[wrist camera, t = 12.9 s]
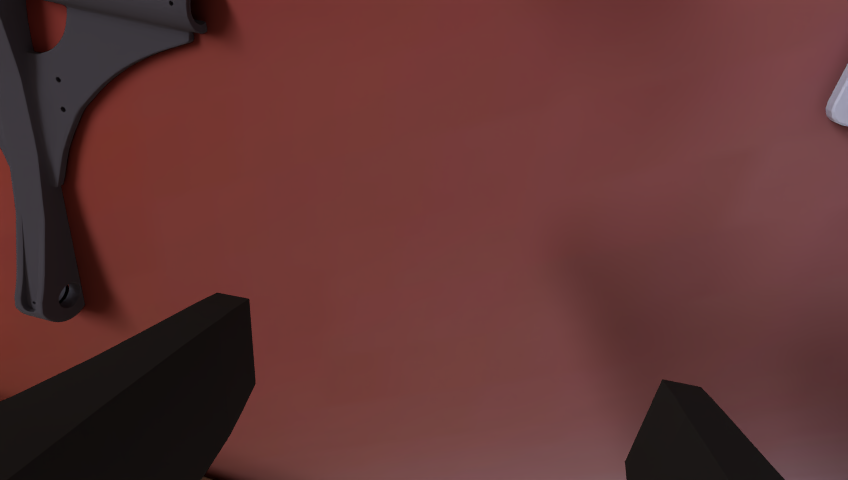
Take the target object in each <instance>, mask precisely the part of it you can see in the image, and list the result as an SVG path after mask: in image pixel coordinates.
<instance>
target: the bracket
mask: <svg viewBox="0 0 848 480" xmlns="http://www.w3.org/2000/svg"><path fill="white" fill-rule="evenodd" d="M45 1H50V2H55V3H59V4H63V5H65V6H66V7H67V20H66V27H65V31H64V34H63V37H62V39H61V40H60V42H59V43H58V44H57V45H56V46H55V47H54V48H53V49H51V50H49V51H47V52H44V53H39V52H35V51H34V50H33V45H32V40H31V35H30V30H29V24H28V18H27V9H26V0H0V147H1V149H2V152H3V154H4V156H5V158H6V160H7V162H8V164H9V166H10V171H11V179H12V186H13V194H14V201H15V208H16V253H17V279H16V290H15V306H16V308H17V309H18V310H19V311H21V312H22V313H24V314H27V315H30V316H34V317H38V318H41V319H45V320H49V321H53V322H63V321H67V320H69V319H71V318H73V317H74V316H76V315H77V314H78V313H79V312H80V311H81V310H82V308H83V307H84V305H85V303H84V297H83V293H82V288H81V283H80V278H79V273H78V268H77V263H76V258H75V253H74V248H73V243H72V238H71V233H70V228H69V223H68V218H67V213H66V208H65V203H64V199H63V194H62V189H61V185H63V184H64V179H65V172H66V166H67V159H68V153H69V149H70V145H71V142H72V139H73V135H74V133H75V130H76V128H77V125H78V123H79V121H80V118H81V116H82V114H83V112H84V110H85V108H86V107H87V105H88V104H89V103H90V102H91V101H92V100H93V99H94V98H95V97H96V95H97V94H98V93H99V92H100V91H101V90H102V89H103V88H104V87H105V86H106V85H107V84H108V83H109V82H110V81H111V80H112V79H114V78H115V77H116V76H117V75H119V74H120V73H121V72H123V71H124V70H126V69H127V68H129V67H130V66H132V65H134V64H135V63H137V62H139V61H141V60H143V59H145V58H147V57H149V56H152V55H154V54H157V53H159V52H162V51H165V50H168V49H171V48H174V47H177V46H181V45H184V44H187V43H190V42H193V40H194V34H193V32H195V33H200V34H203V33H206V32H207V25H206V22H205V21H200V20H196V19H193V17H192V14H191V0H45ZM68 284H69V292H68V295H67V297H66V299H65V300H63V299H61V298H62V297H63V295H64V293H65V290H66V285H68Z"/></svg>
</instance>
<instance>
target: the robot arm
mask: <svg viewBox="0 0 848 480" xmlns="http://www.w3.org/2000/svg"><path fill="white" fill-rule="evenodd" d="M826 115H827V117H828V118H829V119H830V120H831V121H833V122H835V123H838V124H840V125H843V126H848V64H847V66H846V68H845V70H844V72H843V74H842V76H841V78H840V79H839V81H838V83H837V85H836V87H835V89H834V91H833V93H832V95H831V97H830V99H829V101H828V103H827V106H826ZM254 386H255V369H254V356H253V343H252V330H251V317H250V304H249V299H247V298H242V297H237V296H232V295H226V294H221V293H216V294H214V295H211V296H209V297H207V298H205V299H203V300H201V301H199V302H197V303H195V304H193V305H191V306H190V307H188V308H186V309H184V310H182V311H180V312H178V313H176V314H174V315H173V316H171V317H169V318H167V319H165V320H163V321H161V322H159V323H158V324H156V325H154V326H152V327H150V328H148V329H146V330H144V331H143V332H141V333H139V334H137V335H135V336H133V337H131V338H129V339H127V340H125V341H124V342H122V343H120V344H118V345H116V346H114V347H112V348H110V349H108V350H106V351H104V352H103V353H101V354H99V355H97V356H95V357H93V358H91V359H89V360H87V361H85V362H83V363H81V364H78V365H76V366H74V367H72V368H70V369H68V370H66V371H64V372H62V373H60V374H58V375H56V376H54V377H52V378H50V379H47V380H45V381H43V382H41V383H39V384H37V385H35V386H33V387H31V388H29V389H27V390H25V391H23V392H21V393H19V394H16V395H14V396H12V397H10V398H7V399H5V400H3V401H1V402H0V480H201V479H202V478H203V476H204V475H205V473H206V472H207V470H208V469H209V467H210V465H211V464H212V462H213V461H214V459H215V458H216V456H217V455H218V453H219V452H220V450H221V448H222V447H223V445H224V444H225V442H226V441H227V439H228V437H229V436H230V434H231V432H232V430H233V428H234V426H235V424H236V422H237V421H238V419H239V417H240V415H241V413H242V411H243V409H244V407H245V404H246V402H247V400H248V398H249V396H250V394H251V392H252V390H253V388H254ZM625 466H626V478H627V480H784V478H783V477H782V476H781V475H780V474H779V473H778V472H777V471H776V470H775V468H774V467H773V466H772V465H771V464H770V463H769V462H768V461H767V460H766V458H765V457H764V456H763V455H762V454H761V453H760V452H759V451H758V449H757V448H756V447H755V446H754V445H753V444H752V443H751V442H750V440H749V439H748V438H747V437H746V436H745V435H744V434H743V433H742V431H741V430H740V429H739V428H738V427H737V426H736V425H735V424H734V422H733V421H732V420H731V419H730V418H729V417H728V416H727V415H726V414H725V412H724V411H723V410H722V409H721V408H720V407H719V406H718V405H717V404H716V403H715V401H714V400H713V399H712V398H711V397H710V396H709V395H708V394H707V393H706V392H705V391H704V390H703V389H702V388H701V387H698V386H693V385H688V384H683V383H678V382H673V381H667V380H662V381H661V384H660V386H659V388H658V390H657V392H656V395H655V397H654V399H653V401H652V403H651V406H650V408H649V410H648V412H647V414H646V417H645V419H644V421H643V423H642V425H641V428H640V430H639V432H638V434H637V437H636V439H635V441H634V443H633V445H632V448H631V450H630V452H629V454H628V456H627V459H626V461H625Z"/></svg>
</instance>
